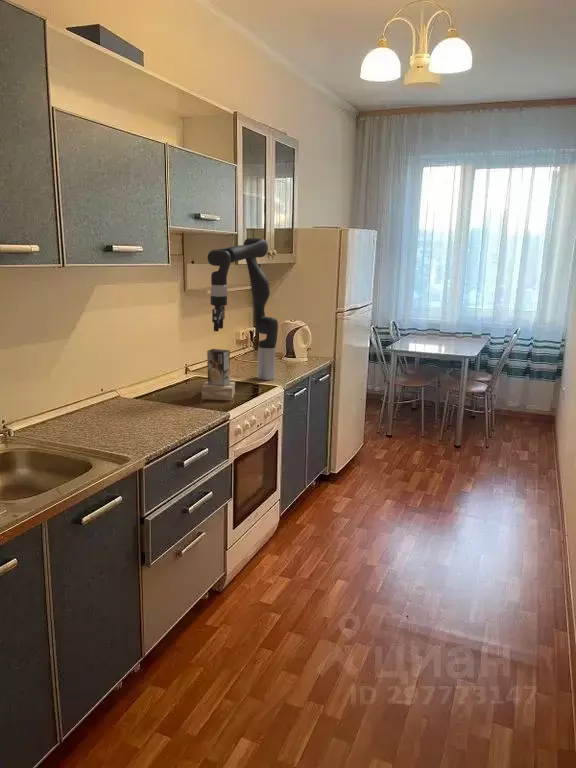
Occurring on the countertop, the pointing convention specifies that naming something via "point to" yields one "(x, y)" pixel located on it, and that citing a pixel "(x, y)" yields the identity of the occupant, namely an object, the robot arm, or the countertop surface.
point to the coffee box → (218, 367)
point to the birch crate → (218, 391)
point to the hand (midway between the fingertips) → (218, 329)
